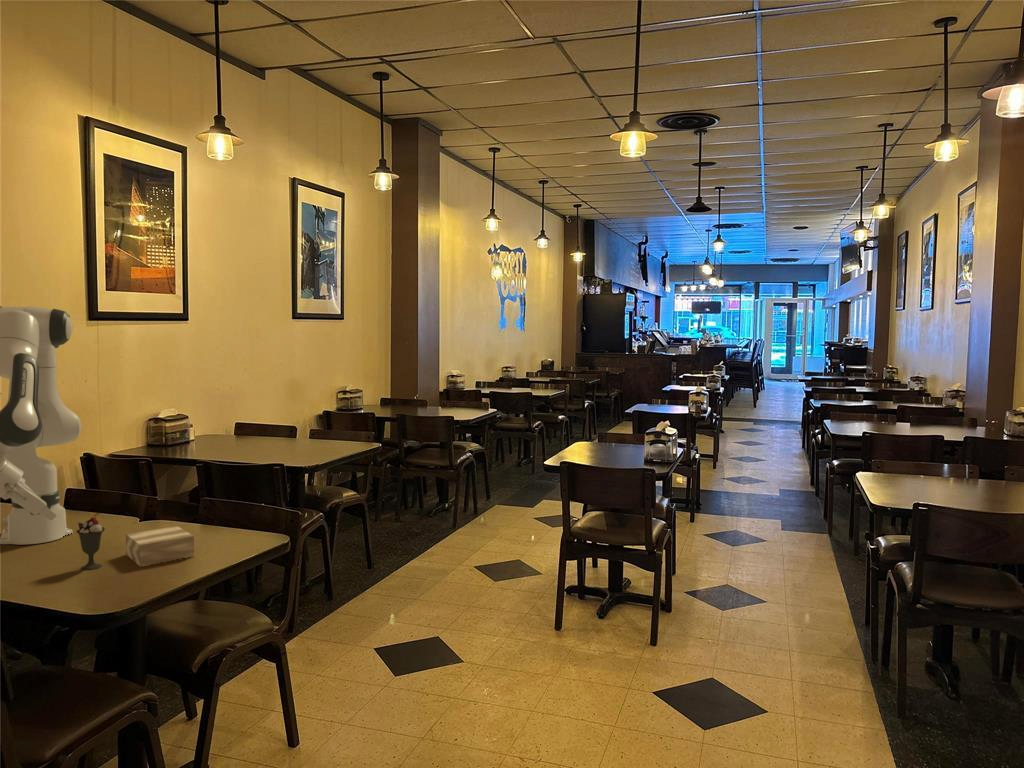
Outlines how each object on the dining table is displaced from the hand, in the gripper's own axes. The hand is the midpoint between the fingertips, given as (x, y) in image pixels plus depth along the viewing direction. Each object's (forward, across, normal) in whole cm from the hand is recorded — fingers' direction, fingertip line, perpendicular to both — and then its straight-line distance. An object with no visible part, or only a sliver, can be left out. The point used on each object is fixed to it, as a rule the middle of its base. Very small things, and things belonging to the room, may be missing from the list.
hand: (50, 514), depth 186 cm
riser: (+30, -1, -7) cm, 31 cm away
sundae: (+18, 0, +5) cm, 19 cm away
